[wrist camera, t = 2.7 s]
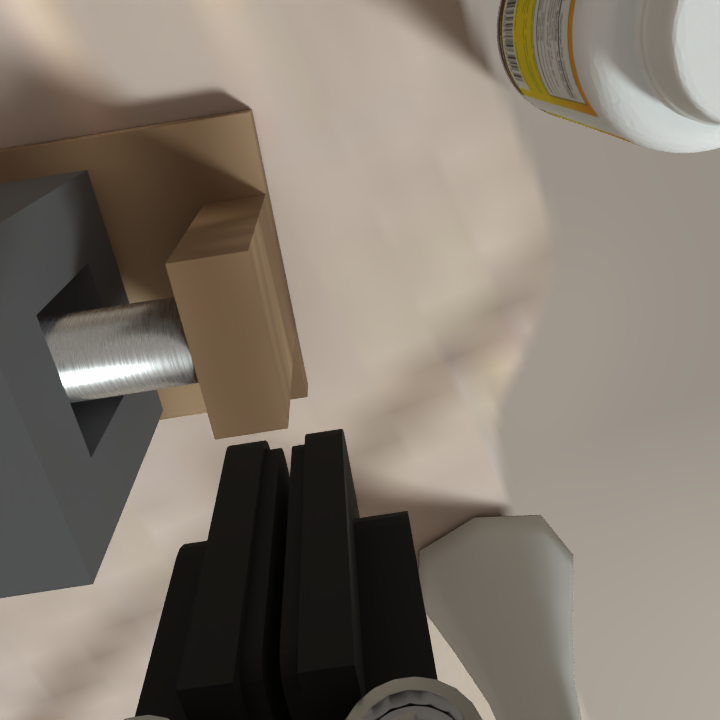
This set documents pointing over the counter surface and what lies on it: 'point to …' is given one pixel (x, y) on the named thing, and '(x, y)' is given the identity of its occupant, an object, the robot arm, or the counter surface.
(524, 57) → the supplement bottle
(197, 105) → the counter surface
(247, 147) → the pipe stand
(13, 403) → the rubber collar
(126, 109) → the counter surface
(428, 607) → the flask
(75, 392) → the steel pipe
